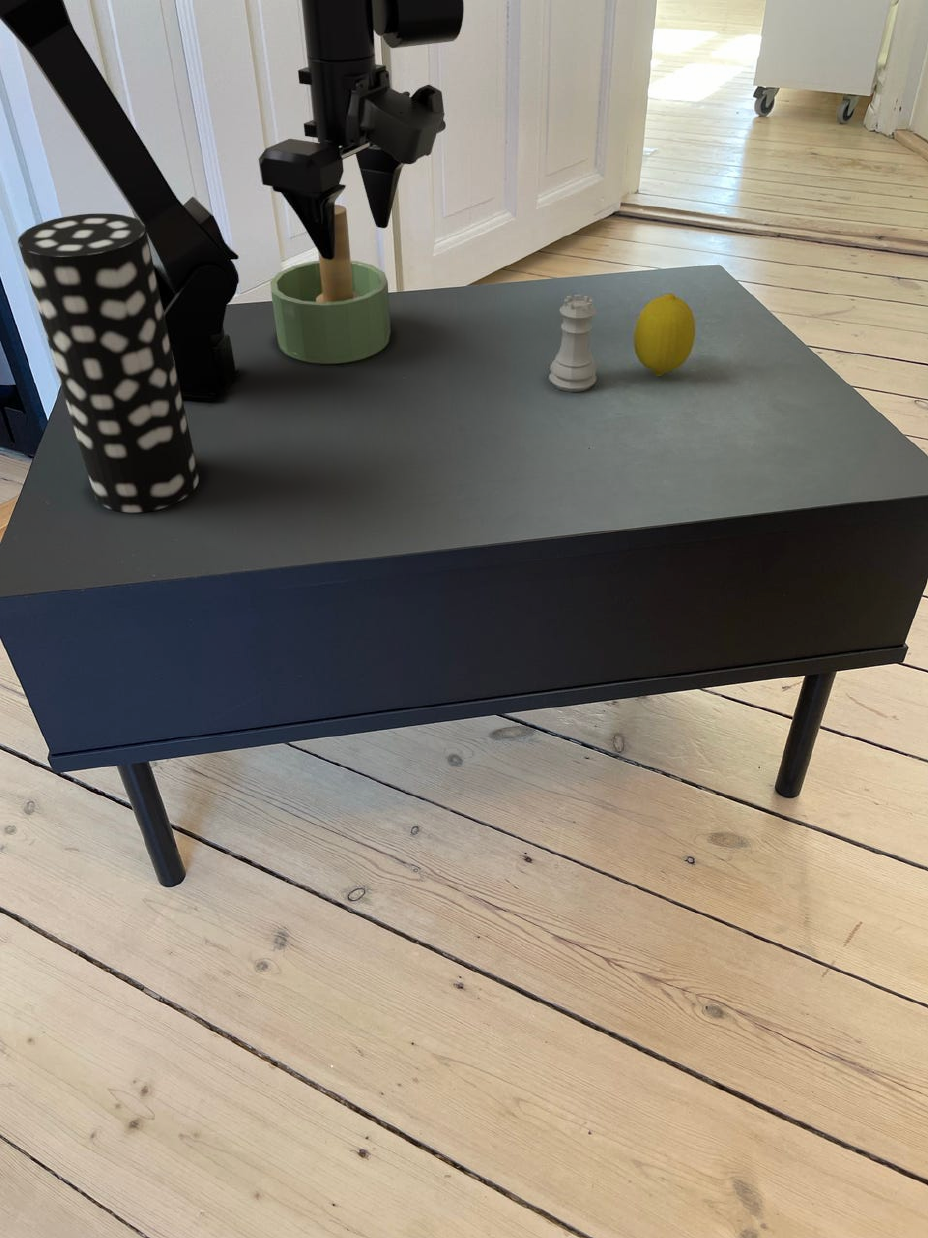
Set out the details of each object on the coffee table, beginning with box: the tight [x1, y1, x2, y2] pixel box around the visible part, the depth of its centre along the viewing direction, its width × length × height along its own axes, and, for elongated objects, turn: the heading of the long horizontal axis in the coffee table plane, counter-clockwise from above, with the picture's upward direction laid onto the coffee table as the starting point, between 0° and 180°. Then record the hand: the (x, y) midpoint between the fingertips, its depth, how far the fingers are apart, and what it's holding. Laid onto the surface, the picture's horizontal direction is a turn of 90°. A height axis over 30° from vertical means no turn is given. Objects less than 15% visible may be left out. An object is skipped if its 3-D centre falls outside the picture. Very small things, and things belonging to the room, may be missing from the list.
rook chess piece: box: [548, 294, 597, 393], centre depth 89 cm, size 4×4×8 cm
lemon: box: [633, 292, 696, 377], centre depth 90 cm, size 6×6×8 cm
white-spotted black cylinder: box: [17, 212, 200, 514], centre depth 72 cm, size 8×8×20 cm
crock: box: [269, 260, 392, 365], centre depth 97 cm, size 11×11×6 cm
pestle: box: [316, 204, 360, 302], centre depth 94 cm, size 4×4×12 cm
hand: (356, 242), depth 91 cm, fingers open, 9 cm apart
